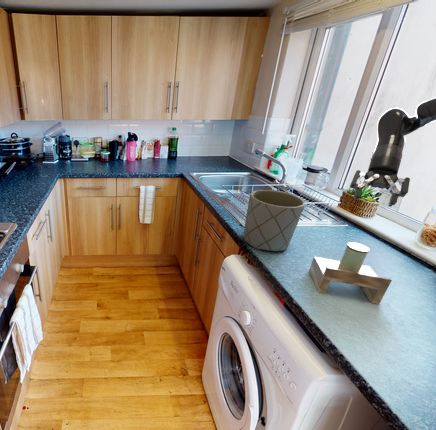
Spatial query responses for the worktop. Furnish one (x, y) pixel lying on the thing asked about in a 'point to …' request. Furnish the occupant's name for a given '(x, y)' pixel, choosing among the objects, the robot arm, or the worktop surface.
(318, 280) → the wooden riser stand
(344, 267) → the jar
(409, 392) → the worktop surface
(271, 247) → the planter
